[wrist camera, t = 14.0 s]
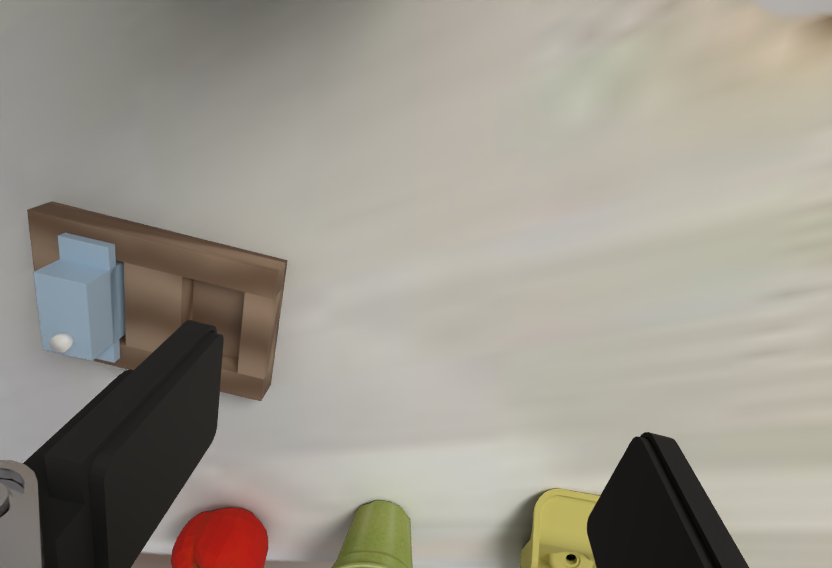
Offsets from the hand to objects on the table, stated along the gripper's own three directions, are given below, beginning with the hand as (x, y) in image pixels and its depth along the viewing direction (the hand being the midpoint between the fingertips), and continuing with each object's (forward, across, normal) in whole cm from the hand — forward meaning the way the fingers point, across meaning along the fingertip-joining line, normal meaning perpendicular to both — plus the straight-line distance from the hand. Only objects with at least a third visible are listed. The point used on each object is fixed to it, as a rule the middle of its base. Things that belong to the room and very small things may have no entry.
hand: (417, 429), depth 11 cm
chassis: (+28, +21, +17) cm, 39 cm away
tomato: (+29, +13, +44) cm, 54 cm away
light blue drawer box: (+28, +26, +17) cm, 42 cm away
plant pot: (+28, -3, +38) cm, 48 cm away
